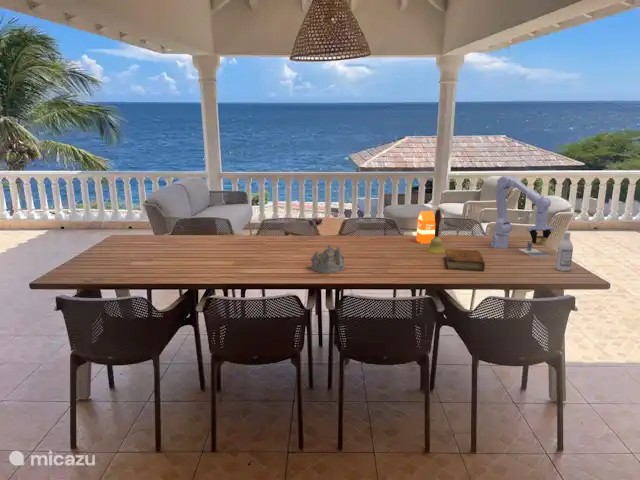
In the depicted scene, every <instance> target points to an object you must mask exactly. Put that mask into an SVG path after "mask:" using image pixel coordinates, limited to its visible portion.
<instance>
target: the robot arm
mask: <svg viewBox="0 0 640 480" xmlns="http://www.w3.org/2000/svg"><path fill="white" fill-rule="evenodd" d="M496 182H497V183H496V186H495V191H494V192H495V203H496V212H497V213H496V214H497V219H496V221H495V227H494V232H495V234H492V235H491V242H490V246H491V248H493V249H508V248H509V240H510V232H511V231H512V230H513V225H512V224H511V220H510V219H509V218H508V208H507V199H506V198H507V197H506V192H507V191H508V190H509V188H516V189H518V191H520V192H522V193H523V194H525V195H526V198H527V200H529V201H531V203H533V204H534V205H535V208H536V216H535V225H534V226H528V227H527V231H529V235H530V237H531V242H532V244H533V243H536V237H537V236H538V234H539V233H538V232H537V231H540V232H542V236H543V237H545V238H547V239H549V236H550V235H551V234H552V231H554V228H555V227H554V226H547V222H548V214H549V208H550V206H551V203H552V202H551V200H550V198H549V197H545V196H544V195H541V194H540V193H538V190H535V189H530V188H529V187H527V186H526V185H525V184H524V183H523V182H521V181H520V180H519V178H518V177H516V176H515V175H513V174H512V175H505V176H503V175H502V176H500V177H499V178H498V179H497V181H496Z"/></svg>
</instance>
